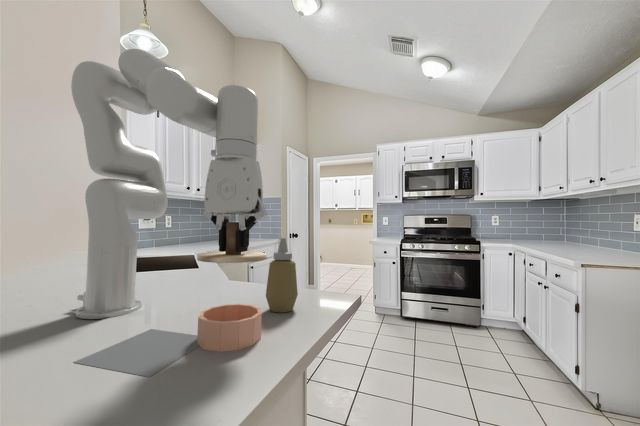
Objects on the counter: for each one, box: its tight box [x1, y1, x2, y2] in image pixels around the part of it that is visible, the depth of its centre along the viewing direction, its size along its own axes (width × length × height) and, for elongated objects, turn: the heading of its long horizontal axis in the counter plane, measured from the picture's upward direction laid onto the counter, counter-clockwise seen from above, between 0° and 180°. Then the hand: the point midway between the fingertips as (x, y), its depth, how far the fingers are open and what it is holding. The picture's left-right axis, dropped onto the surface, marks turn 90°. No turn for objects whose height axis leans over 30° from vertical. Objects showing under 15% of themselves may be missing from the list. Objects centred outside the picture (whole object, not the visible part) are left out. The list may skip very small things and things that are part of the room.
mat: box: [73, 328, 201, 378], centre depth 47 cm, size 14×14×1 cm
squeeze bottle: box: [265, 237, 299, 313], centre depth 71 cm, size 8×8×18 cm
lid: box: [196, 221, 268, 264], centre depth 53 cm, size 12×12×7 cm
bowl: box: [197, 303, 263, 353], centre depth 52 cm, size 11×11×5 cm
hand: (233, 250), depth 53 cm, fingers closed on lid, 2 cm apart
